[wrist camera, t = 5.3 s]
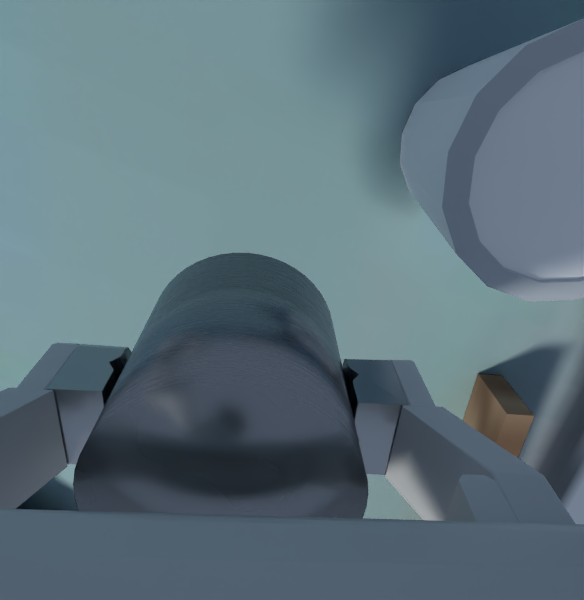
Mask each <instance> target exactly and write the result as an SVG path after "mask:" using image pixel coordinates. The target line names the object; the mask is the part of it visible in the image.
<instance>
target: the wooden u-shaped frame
mask: <svg viewBox="0 0 584 600" xmlns="http://www.w3.org/2000/svg"><path fill="white" fill-rule="evenodd" d="M533 419H534V415H533V413H532V412H531V411H530V410H529V408H528V407H527V406H526V405H525V403H524V402H523V401H522V400H521V398H520V397H519V396H518V395H517V393H516V392H515V391H514V389H513V388H512V387H511V386H510V384H509V383H508V382H507V381H506V379H505V378H504V377H503V376H502V375H489V374H478V375H477V378H476V382H475V385H474V388H473V391H472V394H471V397H470V400H469V403H468V406H467V410H466V413H465V416H464V419H463V421H464V422H465V423H467V424H468V425H470V426H471V427H473V428H474V429H476V430H477V431H478V432H480V433H481V434H483V435H484V436H486V437H487V438H489V439H490V440H492V441H493V442H495V443H496V444H498V445H499V446H501V447H502V448H504V449H505V450H506V451H508V452H509V453H511V454H512V455H514V456H515V457H517V458H518V456H519V454H520V451H521V449H522V446H523V444H524V441H525V439H526V436H527V434H528V431H529V429H530V426H531V424H532V421H533Z"/></svg>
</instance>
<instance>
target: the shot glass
mask: <svg viewBox="0 0 584 600" xmlns="http://www.w3.org/2000/svg"><path fill="white" fill-rule="evenodd" d="M400 166H401V169H402V172H403V175H404V178H405V181H406V184H407V187H408V190H409V191H410V193H411V194H412V195H413V197H414V198H415V199H416V201H417V202H418V203H419V205H420V206H421V207H422V209H423V210H424V211H425V213H426V214H427V215H428V217H429V218H430V219H431V221H432V222H433V223H434V225H435V226H436V227H437V229H438V230H439V231H440V233H441V234H442V235H443V237H444V238H445V239H446V241H447V242H448V243H449V245H450V246H451V247H452V249H453V250H454V251H455V253H456V254H457V255H458V256H459V257H460V258H461V259H462V260H463V261H464V262H465V264H466V265H467V266H468V267H469V268H470V269H471V270H472V271H473V272H474V273H475V274H476V275H477V276H478V277H479V278H480V279H481V280H482V281H483V282H484V283H485V285H486V286H488V287H491V288H493V289H496V290H499V291H501V292H504V293H507V294H510V295H512V296H515V297H518V298H520V299H523V300H526V301H528V302H534V301H561V300H578V299H581V298H583V297H584V18H583V19H581V20H578V21H576V22H573V23H571V24H568V25H566V26H564V27H561V28H559V29H556V30H554V31H551V32H549V33H547V34H544V35H542V36H539V37H537V38H534V39H532V40H530V41H527V42H525V43H522V44H520V45H518V46H515V47H513V48H510V49H508V50H505V51H503V52H501V53H498V54H496V55H493V56H491V57H488V58H486V59H484V60H481V61H479V62H476V63H474V64H471V65H469V66H467V67H465V68H462V69H460V70H458V71H456V72H454V73H452V74H450V75H448V76H445V77H443V78H441V79H439V80H438V81H437V82H436V83H435V84H434V85H433V86H432V87H431V88H430V89H429V90H428V91H427V92H426V93H425V94H424V95H423V96H422V97H421V98H420V99H419V100H418V101H417V102H416V104H415V105H414V108H413V110H412V112H411V114H410V116H409V119H408V121H407V123H406V125H405V127H404V130H403V132H402V138H401V152H400Z"/></svg>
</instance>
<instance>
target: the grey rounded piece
mask: <svg viewBox="0 0 584 600" xmlns="http://www.w3.org/2000/svg"><path fill="white" fill-rule="evenodd" d="M73 486H74V496H75V501H76V504H77V508H78V511H105V512H142V513H180V514H218V515H257V516H293V517H328V518H363V516H364V512H365V509H366V506H367V498H368V481H367V475H366V471H365V467H364V462H363V458H362V453H361V449H360V444H359V440H358V435H357V431H356V426H355V422H354V417H353V413H352V408H351V404H350V399H349V395H348V390H347V386H346V381H345V377H344V372H343V368H342V363H341V359H340V354H339V350H338V345H337V341H336V337H335V332H334V328H333V323H332V319H331V315H330V311H329V309H328V306H327V304H326V301H325V300H324V298H323V296H322V295H321V293H320V291H319V290H318V289H317V288H316V287H315V285H314V284H313V283H312V282H311V281H310V280H309V279H308V278H307V277H306V276H305V275H303V274H302V273H301V272H299V271H298V270H296V269H295V268H293V267H292V266H290V265H288V264H286V263H284V262H282V261H279V260H277V259H274V258H271V257H267V256H263V255H259V254H251V253H229V254H221V255H217V256H213V257H209V258H206V259H204V260H201V261H199V262H196V263H195V264H193V265H191V266H189V267H187V268H186V269H184V270H183V271H182V272H180V273H179V274H178V275H177V276H176V277H175V278H174V279H173V280H172V281H171V282H170V283H169V284H168V285H167V287H166V288H165V289H164V291H163V292H162V294H161V296H160V298H159V300H158V301H157V303H156V305H155V307H154V309H153V311H152V313H151V315H150V317H149V319H148V321H147V323H146V325H145V327H144V329H143V331H142V333H141V335H140V337H139V339H138V341H137V343H136V345H135V347H134V349H133V351H132V353H131V355H130V357H129V359H128V361H127V362H126V364H125V366H124V368H123V370H122V372H121V374H120V376H119V378H118V380H117V382H116V384H115V386H114V388H113V390H112V392H111V394H110V396H109V398H108V400H107V402H106V404H105V406H104V408H103V410H102V412H101V414H100V416H99V418H98V420H97V422H96V424H95V425H94V427H93V429H92V431H91V433H90V435H89V437H88V439H87V441H86V443H85V445H84V447H83V449H82V451H81V453H80V455H79V458H78V461H77V464H76V467H75V472H74V482H73Z"/></svg>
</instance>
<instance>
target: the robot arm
mask: <svg viewBox="0 0 584 600" xmlns="http://www.w3.org/2000/svg"><path fill="white" fill-rule="evenodd" d="M130 355H131V351H130V349H129V348H128V347H116V346H101V345H87V344H81V345H80V344H72V343H56V344H53V345H51V347H50V348H49V349H48V350H47V351H46V353H45V354H44V355H43V356H42V358H41V359H40V360H39V361H38V362H37V364H36V365H35V366H34V367H33V369H32V370H31V371H30V372H29V373H28V375H27V376H26V377H25V378H24V380H23V381H22V382H21V383H20V384H19V386H18V387H17V388H7V389H5V390H3V391H1V392H0V600H584V525H582V524H575V522H574V521H573V519H572V518H571V516H570V515H569V513H568V512H567V510H566V509H565V507H564V506H563V504H562V503H561V501H560V500H559V498H558V496H557V495H556V493H555V492H554V490H553V489H552V487H551V486H550V484H549V483H548V481H547V480H546V478H545V477H544V476H543V475H542V474H540V473H539V472H537V471H536V470H534V469H533V468H532V467H530V466H529V465H527V464H526V463H524V462H523V461H521V460H520V459H518V458H517V457H515V456H514V455H512V454H511V453H509V452H508V451H506V450H505V449H504V448H502V447H501V446H499V445H498V444H496V443H495V442H493V441H492V440H490V439H489V438H487V437H486V436H484V435H483V434H481V433H480V432H478V431H477V430H476V429H474V428H473V427H471V426H470V425H468V424H467V423H465V422H464V421H462V420H461V419H459V418H458V417H456V416H455V415H453V414H452V413H451V412H449V411H448V410H446V409H445V408H443V407H436V406H435V404H434V402H433V400H432V398H431V396H430V394H429V392H428V390H427V388H426V386H425V383H424V381H423V379H422V377H421V375H420V373H419V371H418V369H417V367H416V365H415V363H414V362H413V361H411V360H362V359H344V363H343V366H342V368H343V372H344V377H345V381H346V386H347V390H348V395H349V399H350V404H351V408H352V413H353V417H354V422H355V426H356V431H357V435H358V440H359V444H360V449H361V453H362V458H363V462H364V467H365V471H366V474H380V475H386V476H385V477H386V478H387V479H388V480H389V481H390V482H391V484H392V485H393V486H394V487H395V488H396V489H397V490H398V492H399V493H400V494H401V495H402V496H403V497H404V498H405V500H406V501H407V502H408V503H409V504H410V505H411V506H412V508H413V509H414V510H415V511H416V512H417V513H418V514H419V516H420V517H421V518H422V519H423V520H398V519H363V518H328V517H293V516H257V515H218V514H180V513H142V512H105V511H69V510H34V509H16V508H17V507H19V506H20V505H21V504H22V503H23V502H25V501H26V500H27V499H28V498H29V497H31V496H32V495H33V494H34V493H36V492H37V491H38V490H39V489H40V488H42V487H43V486H44V485H45V484H47V483H48V482H49V481H50V480H51V479H53V478H54V477H55V476H56V475H57V474H59V473H60V472H61V471H62V470H64V469H65V468H66V467H67V464H77V461H78V458H79V455H80V453H81V451H82V449H83V447H84V445H85V443H86V441H87V439H88V437H89V435H90V433H91V431H92V429H93V427H94V425H95V424H96V422H97V420H98V418H99V416H100V414H101V412H102V410H103V408H104V406H105V404H106V402H107V400H108V398H109V396H110V394H111V392H112V390H113V388H114V386H115V384H116V382H117V380H118V378H119V376H120V374H121V372H122V370H123V368H124V366H125V364H126V362H127V361H128V359H129V357H130Z"/></svg>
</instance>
